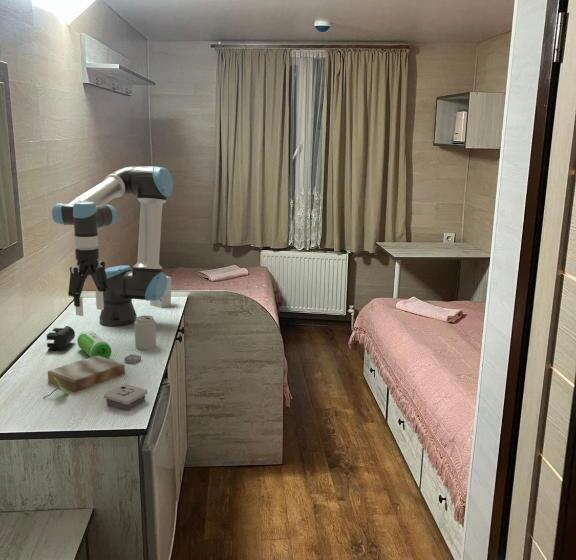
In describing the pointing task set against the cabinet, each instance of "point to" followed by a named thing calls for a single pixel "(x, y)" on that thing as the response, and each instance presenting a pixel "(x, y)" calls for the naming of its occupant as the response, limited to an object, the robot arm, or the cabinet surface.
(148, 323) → the can
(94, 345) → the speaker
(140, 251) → the robot arm
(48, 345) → the end cap
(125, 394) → the electrical switch
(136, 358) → the grey square block
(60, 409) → the cabinet surface
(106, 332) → the cabinet surface
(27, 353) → the cabinet surface
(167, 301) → the skincare box
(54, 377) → the seedling
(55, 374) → the stand
